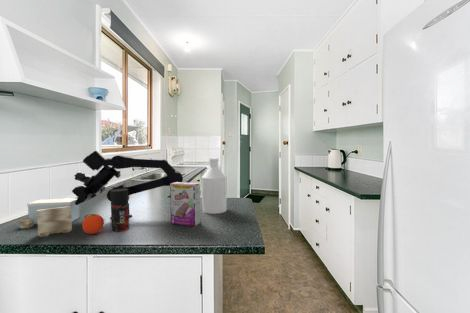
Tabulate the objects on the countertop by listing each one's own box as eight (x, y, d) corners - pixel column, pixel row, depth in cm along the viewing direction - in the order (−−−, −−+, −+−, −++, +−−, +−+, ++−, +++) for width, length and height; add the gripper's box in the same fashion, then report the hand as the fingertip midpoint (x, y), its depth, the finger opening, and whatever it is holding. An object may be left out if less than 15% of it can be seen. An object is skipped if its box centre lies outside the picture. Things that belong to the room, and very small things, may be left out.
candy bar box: (170, 224, 101) (169, 183, 100) (176, 220, 105) (176, 181, 104) (195, 227, 97) (194, 184, 96) (201, 223, 102) (200, 182, 101)
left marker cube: (33, 225, 101) (33, 218, 100) (28, 227, 98) (28, 220, 97) (25, 225, 100) (25, 218, 100) (20, 228, 97) (19, 220, 97)
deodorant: (118, 233, 91) (116, 192, 90) (108, 230, 94) (107, 190, 94) (132, 228, 96) (131, 189, 95) (122, 225, 99) (121, 187, 99)
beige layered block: (71, 227, 97) (70, 204, 97) (72, 231, 93) (71, 207, 93) (38, 233, 91) (37, 209, 91) (38, 237, 87) (36, 212, 87)
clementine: (75, 235, 90) (74, 215, 89) (92, 228, 96) (92, 210, 96) (92, 237, 87) (91, 217, 86) (108, 231, 93) (108, 212, 93)
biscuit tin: (79, 217, 112) (78, 198, 111) (71, 222, 104) (70, 202, 104) (39, 219, 110) (38, 199, 109) (28, 224, 102) (27, 203, 102)
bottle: (214, 215, 112) (213, 159, 111) (196, 210, 120) (195, 158, 119) (232, 209, 121) (231, 158, 120) (214, 206, 129) (214, 157, 128)
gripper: (97, 163, 116) (73, 187, 116) (76, 166, 98) (47, 195, 97) (115, 179, 117) (91, 203, 117) (98, 186, 99) (69, 215, 98)
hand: (76, 204), depth 107 cm, fingers closed
